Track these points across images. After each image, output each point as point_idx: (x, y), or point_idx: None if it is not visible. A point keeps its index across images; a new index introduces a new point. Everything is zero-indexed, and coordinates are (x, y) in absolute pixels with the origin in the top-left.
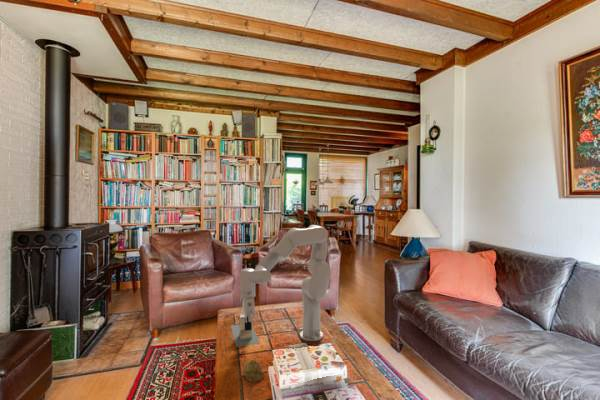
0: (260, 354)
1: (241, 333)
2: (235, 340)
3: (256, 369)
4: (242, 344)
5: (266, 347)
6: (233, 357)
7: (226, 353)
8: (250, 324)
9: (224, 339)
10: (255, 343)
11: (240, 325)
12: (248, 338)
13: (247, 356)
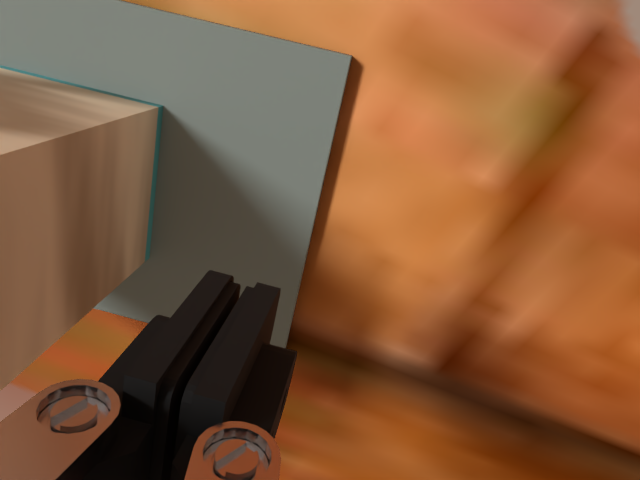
0: (629, 182)
1: (101, 290)
2: (123, 306)
3: None
4: (261, 281)
5: (513, 11)
6: (460, 445)
7: (338, 462)
8: (244, 376)
9: (35, 371)
10: (328, 125)
11: (2, 374)
12: (153, 160)
13: (548, 332)
